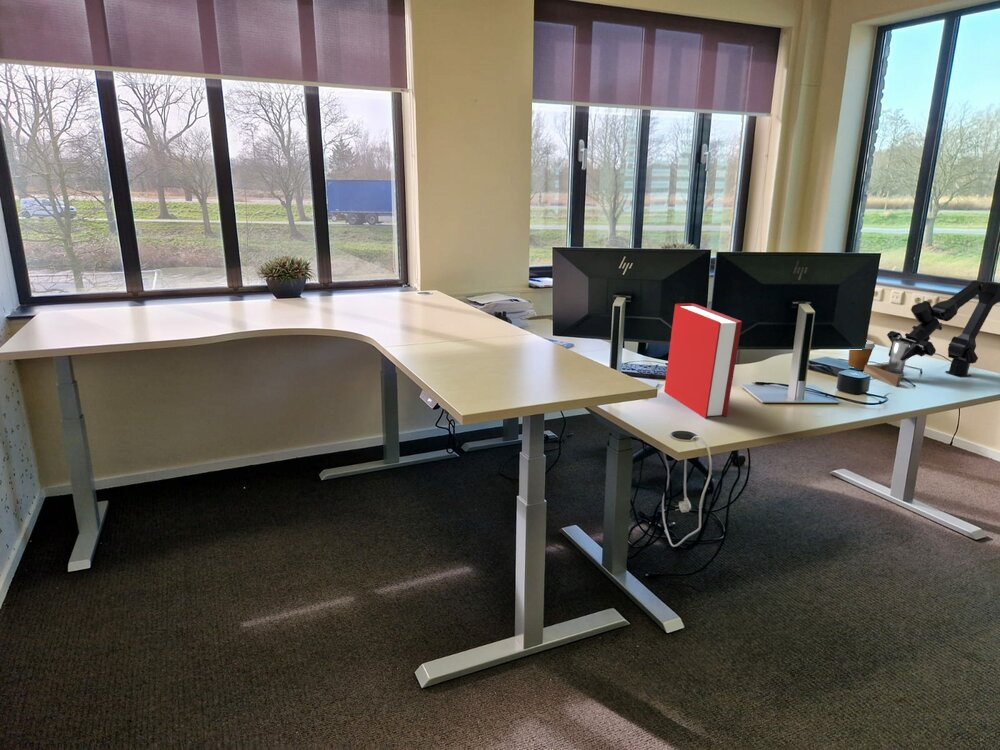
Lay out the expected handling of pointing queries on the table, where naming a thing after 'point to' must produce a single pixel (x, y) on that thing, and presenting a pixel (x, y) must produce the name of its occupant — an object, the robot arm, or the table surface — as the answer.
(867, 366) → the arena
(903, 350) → the silver metal can
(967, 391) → the table surface
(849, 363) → the disposable coffee cup
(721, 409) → the book
